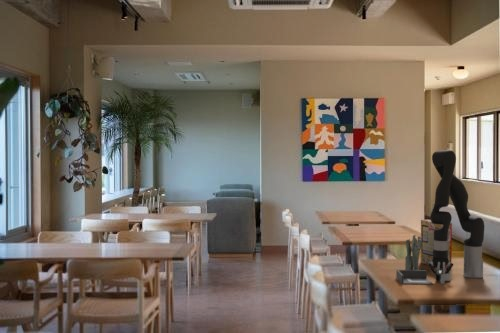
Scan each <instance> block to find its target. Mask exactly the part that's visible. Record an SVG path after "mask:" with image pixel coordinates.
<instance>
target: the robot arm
mask: <svg viewBox="0 0 500 333" xmlns="http://www.w3.org/2000/svg"><path fill="white" fill-rule="evenodd" d="M431 156H432V157H431V161H432V164H433V165H434V168H435V170H436V172H437V173H438V175H439V176H440V178H441V179H440V181H439V183H438V185H436V189H435V195H434V196H435V198H434V204H433V208H432V210H431V213H430V216H429V220H431V222H432V223H433V224H441V225H443V227H442V228H439V229H435V230H434V242H433V259H432V261H431V262H428V263H427V264H428V265H427V264H426V265H427V266H428V268H429V269H430V271H431V272H432V274H435V280H436V281H437V282H438V281H439V271H442V273H444V274H447V273H449V271H451V270H452V268H453V267H454V263H453V262H451V263H450V262H449V260H448V230H449V226H450V223H452V217H453V216H452V215H451V213H450V212H449V211H444V210H442V211H441V208H446V207H448V206H449V204H450V200H451V203H452V204H453V206H454V209H455V212H456V214H457V218H458V221H459V224H460V227H461V229H462V230H463V231H464V232H466V233H470V237H469V238H466V239H464V241H463V276H464V277H465V278H469V279H481V278H482V279H483V278H484V260H483V242H484V238H485V221H484V220H483V218H481V217H479V216H473V215H471V214H470V212H469V209H468V201H469V193H468V191H467V188H466V187H465V184H464V183H463V182H462V180H460V178H458V177H457V176H456V174H454V173H455V172H454V171H455V168H456V162H457V161H456V160H457V157H456V156H457V155H456V153H455V152H454V150H451V149H447V150H436V151H434V152H433V153H432V155H431ZM433 264H434V265H435V269H434V266H433ZM447 264H448V267H447V269H445V267H446V265H447Z"/></svg>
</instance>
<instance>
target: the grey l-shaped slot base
mask: <svg viewBox="0 0 500 333" xmlns="http://www.w3.org/2000/svg"><path fill="white" fill-rule="evenodd" d="M395 274H396V275H395V278H396V281H397V280H398V282H399V284H401V285H419V284H420V285H422V286H423V285H428V286H429V285H433V282H432V281H430V280H429V279H428V278H427V275H428V271H427V269H426V270H424V269H422V270H421V269H418V270H414V269H413V270H405V269H396V270H395Z"/></svg>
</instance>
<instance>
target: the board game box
mask: <svg viewBox="0 0 500 333" xmlns="http://www.w3.org/2000/svg"><path fill="white" fill-rule="evenodd" d="M442 227H443V225H441V224H433V223H432V222H431V220H430V219H421V220H420V237H421V240H422V243H421V250H420V264H423V265H427V266H428V264H427V263H428V262H431V261H432V259H433V242H434V230H435V229H439V228H442ZM452 227H453V224H452V222H451V223H450V226H449V230H448V260H449V262H450V263H452V251H453V250H452V249H453V248H452V244H453V243H452V241H453V240H452V238H453V237H452V235H453V234H452V233H453V231H452V230H453V229H452ZM432 267H433V268H434V267H435V265H434V264H433V266H432ZM447 267H448V264H447V265H446V267H445V270H446V269H447Z"/></svg>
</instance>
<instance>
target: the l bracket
mask: <svg viewBox="0 0 500 333" xmlns="http://www.w3.org/2000/svg"><path fill="white" fill-rule="evenodd" d="M446 281H447V282H448V281H449V282H450V281H451V270H450V271H449V273H447V274H444V273H442V270H439V281H437V282H438V283H439V284H440V285H445V284H446Z"/></svg>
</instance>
